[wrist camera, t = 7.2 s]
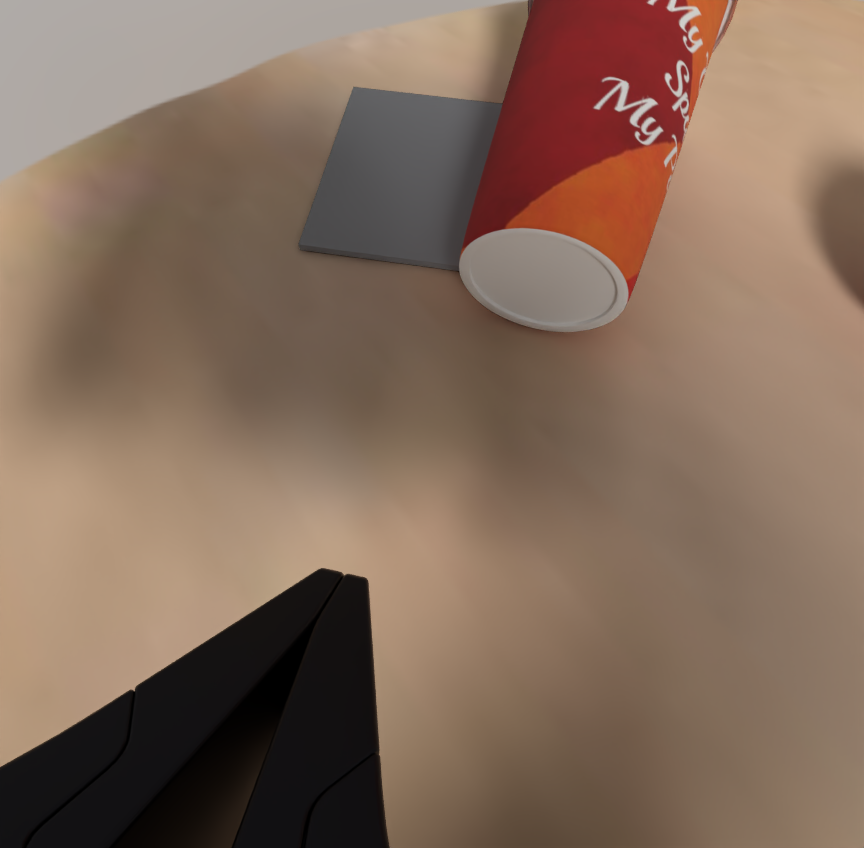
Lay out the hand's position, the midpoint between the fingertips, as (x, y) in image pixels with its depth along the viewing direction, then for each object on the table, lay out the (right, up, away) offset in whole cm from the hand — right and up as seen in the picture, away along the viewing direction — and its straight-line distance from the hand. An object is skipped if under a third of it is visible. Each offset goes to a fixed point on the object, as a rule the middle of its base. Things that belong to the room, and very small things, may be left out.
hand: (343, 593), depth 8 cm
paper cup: (+5, +7, +8) cm, 11 cm away
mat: (+3, +14, +13) cm, 19 cm away
